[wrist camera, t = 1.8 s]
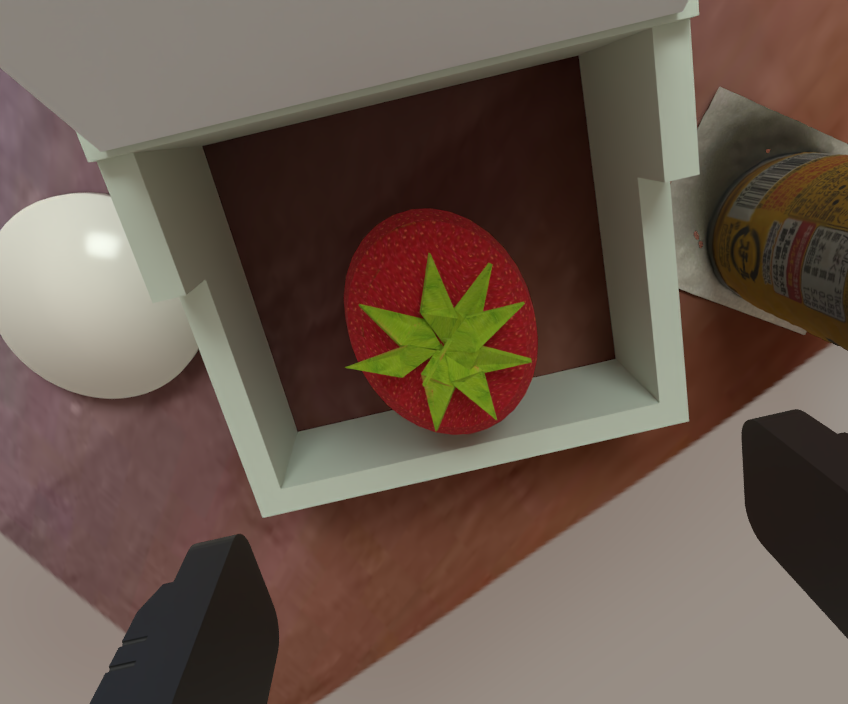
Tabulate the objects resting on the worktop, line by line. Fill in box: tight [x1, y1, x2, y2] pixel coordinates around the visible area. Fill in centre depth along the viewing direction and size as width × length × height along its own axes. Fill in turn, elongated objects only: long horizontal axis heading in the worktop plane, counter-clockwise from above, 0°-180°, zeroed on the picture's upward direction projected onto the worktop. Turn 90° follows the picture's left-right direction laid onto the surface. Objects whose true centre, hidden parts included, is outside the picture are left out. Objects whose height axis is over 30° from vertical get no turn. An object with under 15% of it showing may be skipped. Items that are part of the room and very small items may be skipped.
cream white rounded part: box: [0, 192, 199, 399], centre depth 24 cm, size 8×8×1 cm
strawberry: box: [344, 208, 538, 435], centre depth 20 cm, size 6×8×10 cm
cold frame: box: [0, 0, 700, 518], centre depth 15 cm, size 20×16×18 cm
